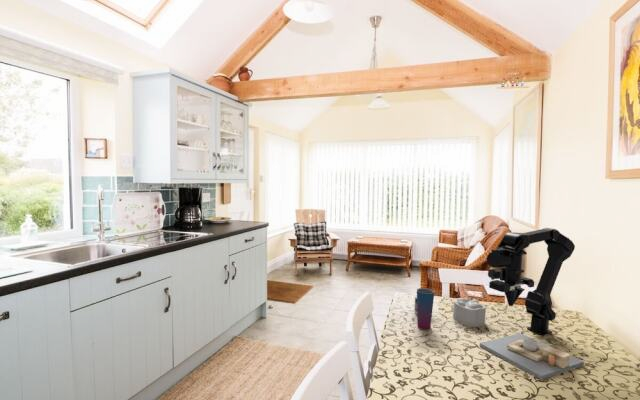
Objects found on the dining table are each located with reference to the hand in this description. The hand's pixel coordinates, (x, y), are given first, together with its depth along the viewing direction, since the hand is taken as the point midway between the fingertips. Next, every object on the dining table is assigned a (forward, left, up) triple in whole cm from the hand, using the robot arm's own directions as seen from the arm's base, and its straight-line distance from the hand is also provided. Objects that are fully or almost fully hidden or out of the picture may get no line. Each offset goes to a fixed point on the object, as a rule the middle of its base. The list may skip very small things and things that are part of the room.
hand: (510, 305), depth 129 cm
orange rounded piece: (+9, +21, -11) cm, 25 cm away
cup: (+26, -18, -12) cm, 34 cm away
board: (+7, +13, -12) cm, 19 cm away
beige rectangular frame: (+7, +16, -11) cm, 20 cm away
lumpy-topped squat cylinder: (+3, -17, -12) cm, 21 cm away
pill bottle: (+17, -30, -12) cm, 37 cm away
